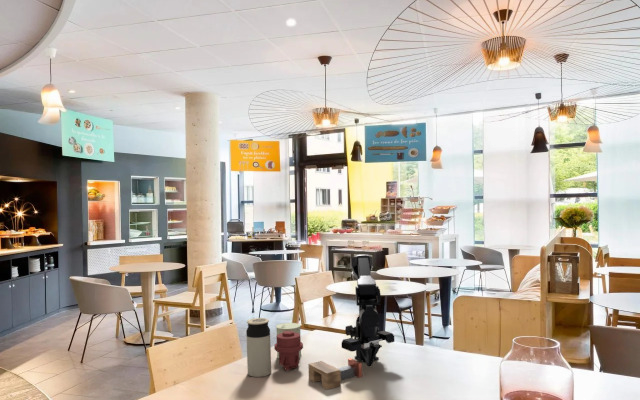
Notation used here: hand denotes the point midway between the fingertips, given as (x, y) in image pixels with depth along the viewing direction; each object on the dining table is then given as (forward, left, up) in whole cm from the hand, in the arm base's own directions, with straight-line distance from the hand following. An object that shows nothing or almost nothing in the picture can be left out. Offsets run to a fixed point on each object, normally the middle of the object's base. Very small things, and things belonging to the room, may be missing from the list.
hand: (369, 366), depth 167 cm
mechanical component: (+20, -19, -2) cm, 28 cm away
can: (+14, -30, -2) cm, 34 cm away
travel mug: (+31, -20, -2) cm, 37 cm away
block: (+18, 0, -2) cm, 18 cm away
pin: (+10, 0, -2) cm, 10 cm away
